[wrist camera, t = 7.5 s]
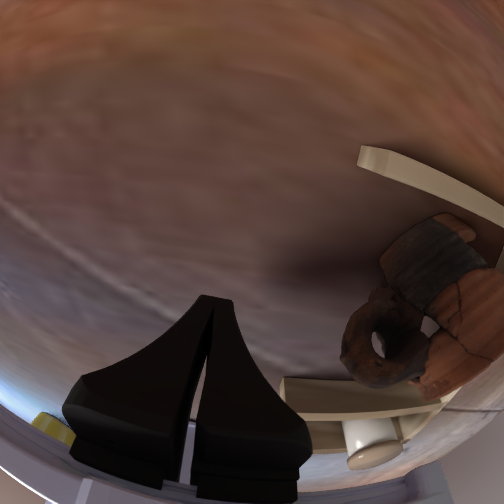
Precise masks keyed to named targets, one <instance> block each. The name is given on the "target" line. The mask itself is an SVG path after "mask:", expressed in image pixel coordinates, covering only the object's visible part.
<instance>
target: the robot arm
mask: <svg viewBox="0 0 504 504" xmlns="http://www.w3.org/2000/svg"><path fill="white" fill-rule="evenodd" d="M206 356H207V363H206V376H205V381H204V385H203V390H202V395H201V400H200V404H199V409H198V414H197V418H196V423H195V422H190V421H189V419H190V414H191V408H192V403H193V399H194V395H195V392H196V389H197V385H198V382H199V379H200V376H201V372H202V369H203V366H204V363H205V359H206ZM62 413H63V415H64V417H65V419H66V421H67V422H68V424H69V425H70V427H71V429H72V430H73V431H74V433H75V434H76V437H75V439H74V441H73V444H72V446H69V445H67V444H65V443H63V442H61V441H59V440H57V439H55V438H53V437H51V436H50V435H48V434H46V433H44V432H42V431H41V430H39V429H37V428H36V427H34V426H32V425H31V424H29V423H27V422H26V421H24V420H23V419H21V418H20V417H18V416H17V415H15V414H14V413H12V412H11V411H9V410H8V409H6V408H5V407H4V406H2V405H1V404H0V468H1V469H2V470H4V471H5V472H6V473H8V474H9V475H10V476H11V477H13V478H14V479H16V480H17V481H19V482H20V483H21V484H23V485H24V486H26V487H27V488H29V489H30V490H32V491H33V492H35V493H36V494H38V495H40V496H41V497H43V498H45V499H46V503H45V504H454V503H453V499H452V496H451V493H450V489H449V486H448V483H447V480H446V477H445V474H444V471H443V468H442V465H441V462H440V461H439V460H437V461H434V462H431V463H428V464H425V465H422V466H419V467H417V468H415V469H413V470H411V471H410V472H408V473H407V474H406V475H405V476H403V477H399V478H395V479H391V480H387V481H383V482H378V483H373V484H368V485H363V486H357V487H351V488H344V489H336V490H327V491H316V492H300V493H298V492H297V480H299V477H300V476H299V468H300V467H301V466H302V465H303V464H304V463H305V462H306V461H307V460H308V459H309V458H310V457H311V455H312V454H313V447H312V440H311V436H310V433H309V430H308V427H307V424H306V421H305V420H304V419H303V418H302V417H300V416H299V415H298V414H297V413H296V412H295V411H294V410H292V409H291V408H290V407H289V406H288V405H287V404H286V403H285V402H284V401H283V400H282V398H281V397H280V396H279V395H278V394H277V393H276V392H275V390H274V389H273V388H272V387H271V385H270V384H269V383H268V381H267V380H266V379H265V378H264V376H263V375H262V373H261V372H260V370H259V369H258V367H257V365H256V364H255V362H254V360H253V358H252V357H251V355H250V353H249V351H248V349H247V347H246V344H245V342H244V340H243V337H242V335H241V332H240V329H239V326H238V323H237V320H236V316H235V312H234V305H233V302H232V300H229V299H223V298H218V297H213V296H207V295H200V296H199V297H198V299H197V300H196V301H195V303H194V304H193V305H192V306H191V308H190V309H189V310H188V311H187V312H186V313H185V314H184V315H183V316H182V317H181V318H180V319H179V320H178V321H177V322H176V323H175V324H174V325H173V326H172V327H171V328H170V329H168V330H167V331H166V332H165V333H164V334H163V335H161V336H160V337H159V338H158V339H156V340H155V341H153V342H152V343H151V344H149V345H148V346H146V347H145V348H143V349H141V350H140V351H138V352H137V353H135V354H133V355H131V356H130V357H128V358H126V359H124V360H121V361H119V362H117V363H115V364H113V365H111V366H108V367H106V368H103V369H100V370H97V371H94V372H91V373H88V374H85V375H82V376H81V377H80V378H79V380H78V381H77V382H76V384H75V385H74V386H73V388H72V389H71V391H70V393H69V395H68V397H67V399H66V400H65V402H64V404H63V406H62ZM91 476H92V477H94V478H92V477H91Z"/></svg>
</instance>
